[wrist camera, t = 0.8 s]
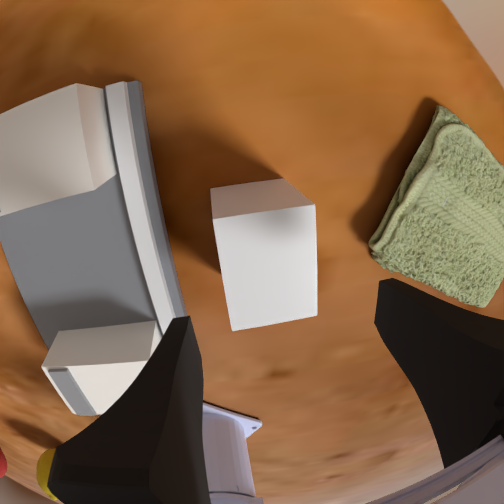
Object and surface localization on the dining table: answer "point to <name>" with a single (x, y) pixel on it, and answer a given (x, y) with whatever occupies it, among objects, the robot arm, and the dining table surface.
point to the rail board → (88, 237)
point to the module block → (266, 252)
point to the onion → (2, 464)
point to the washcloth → (447, 215)
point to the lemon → (45, 471)
